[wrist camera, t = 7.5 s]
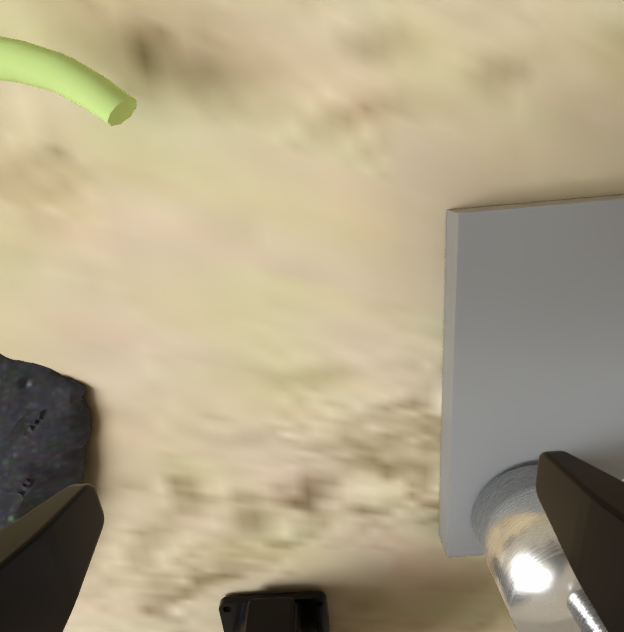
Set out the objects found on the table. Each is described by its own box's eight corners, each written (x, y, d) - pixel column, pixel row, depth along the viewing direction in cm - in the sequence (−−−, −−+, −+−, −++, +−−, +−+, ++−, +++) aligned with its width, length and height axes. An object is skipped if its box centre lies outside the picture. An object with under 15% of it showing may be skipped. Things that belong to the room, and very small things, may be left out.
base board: (726, 515, 22) (754, 538, 21) (438, 533, 23) (447, 557, 22) (838, 175, 16) (887, 175, 15) (446, 209, 17) (458, 213, 16)
